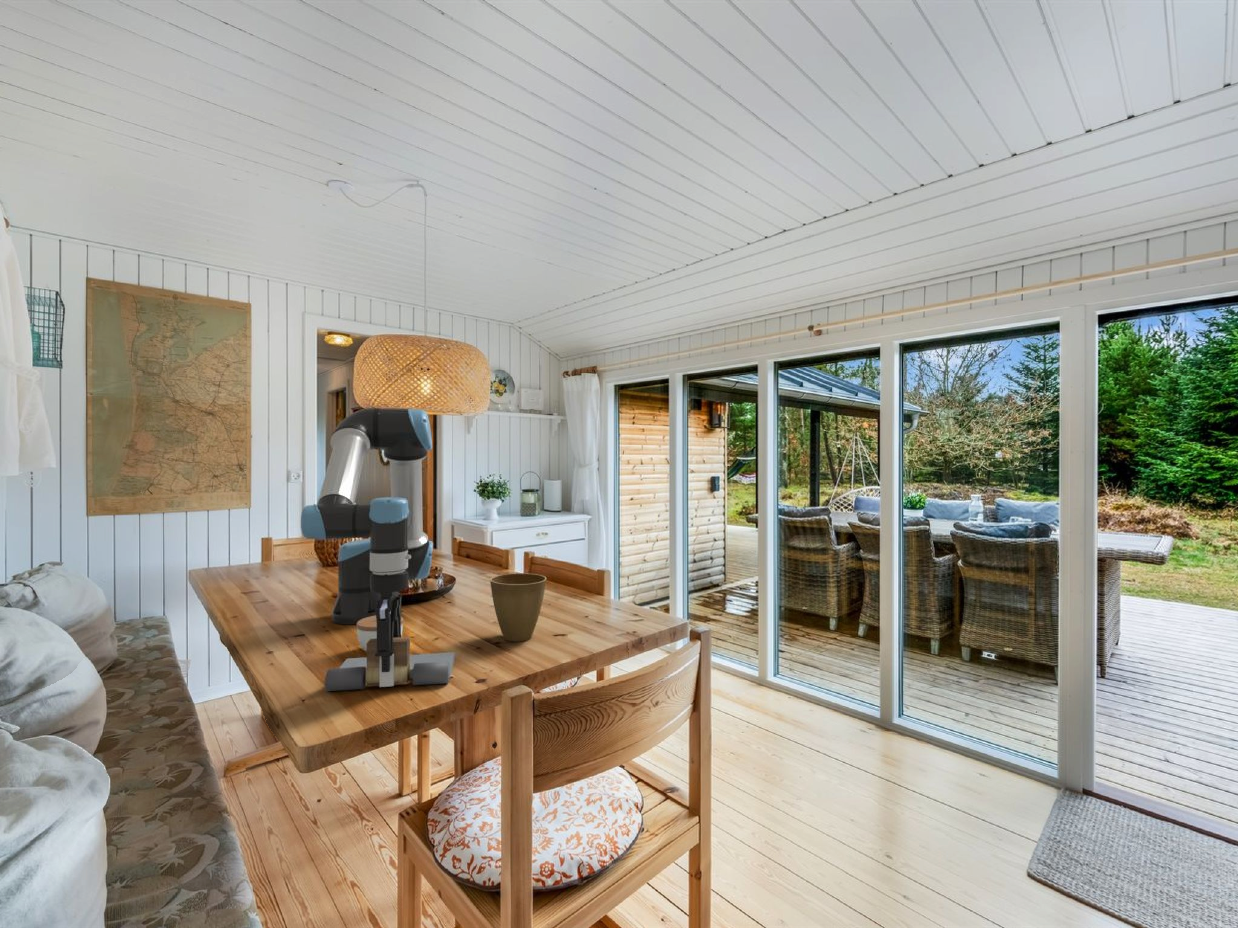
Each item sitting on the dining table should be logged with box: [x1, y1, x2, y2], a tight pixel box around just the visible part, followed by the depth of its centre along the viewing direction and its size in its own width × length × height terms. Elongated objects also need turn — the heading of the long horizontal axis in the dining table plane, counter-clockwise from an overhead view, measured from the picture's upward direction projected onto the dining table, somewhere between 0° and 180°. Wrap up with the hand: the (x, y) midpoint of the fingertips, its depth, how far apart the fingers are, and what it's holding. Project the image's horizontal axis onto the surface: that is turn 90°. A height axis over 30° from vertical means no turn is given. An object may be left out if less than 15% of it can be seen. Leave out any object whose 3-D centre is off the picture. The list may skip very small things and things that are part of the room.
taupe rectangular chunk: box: [366, 636, 411, 688], centre depth 118 cm, size 4×8×9 cm, turn 100°
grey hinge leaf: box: [324, 651, 456, 692], centre depth 123 cm, size 15×24×4 cm, turn 101°
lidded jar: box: [356, 616, 404, 653], centre depth 139 cm, size 11×11×9 cm
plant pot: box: [489, 572, 547, 642], centre depth 150 cm, size 15×15×16 cm
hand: (389, 680), depth 118 cm, fingers closed on taupe rectangular chunk, 4 cm apart
